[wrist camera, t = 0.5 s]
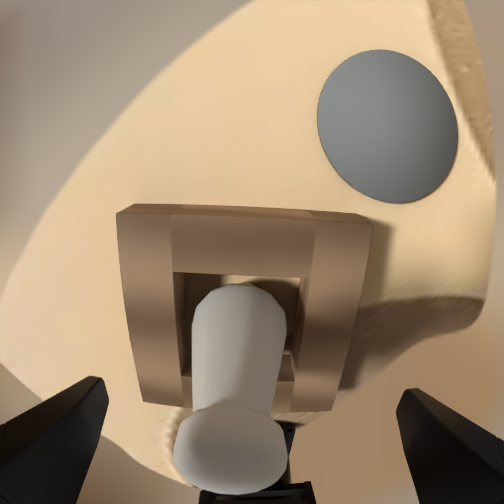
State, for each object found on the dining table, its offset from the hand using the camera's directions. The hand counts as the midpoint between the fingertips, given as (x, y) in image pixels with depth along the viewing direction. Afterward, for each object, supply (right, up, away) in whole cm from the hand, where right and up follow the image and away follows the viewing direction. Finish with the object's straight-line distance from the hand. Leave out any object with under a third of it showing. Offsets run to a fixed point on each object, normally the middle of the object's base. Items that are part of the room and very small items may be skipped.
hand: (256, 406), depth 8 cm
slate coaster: (+9, +12, +9) cm, 18 cm away
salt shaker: (-1, 0, +13) cm, 13 cm away
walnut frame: (-1, 0, +13) cm, 13 cm away
